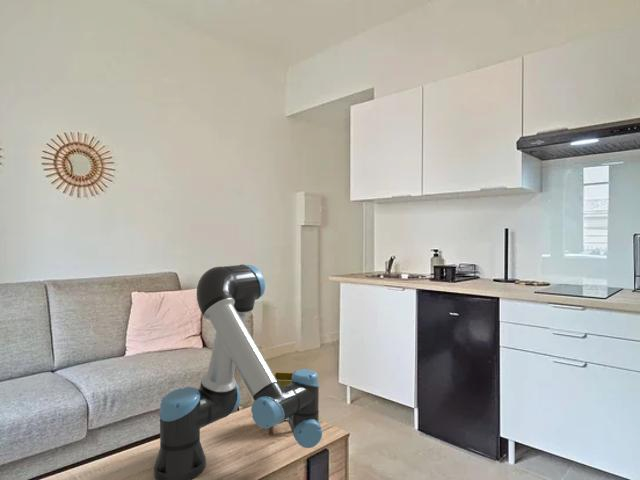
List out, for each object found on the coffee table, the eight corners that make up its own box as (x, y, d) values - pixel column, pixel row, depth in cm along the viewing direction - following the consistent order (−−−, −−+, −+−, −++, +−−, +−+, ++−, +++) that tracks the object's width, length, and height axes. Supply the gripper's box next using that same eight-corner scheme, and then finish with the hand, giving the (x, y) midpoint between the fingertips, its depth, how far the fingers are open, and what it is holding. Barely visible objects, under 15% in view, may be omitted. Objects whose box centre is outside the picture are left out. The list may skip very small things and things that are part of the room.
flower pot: (296, 395, 159) (296, 372, 159) (292, 404, 150) (292, 380, 150) (274, 394, 160) (274, 371, 160) (269, 403, 151) (269, 379, 151)
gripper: (257, 430, 121) (250, 402, 142) (336, 420, 128) (319, 394, 148) (257, 405, 121) (250, 380, 142) (336, 396, 128) (319, 374, 148)
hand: (285, 388), depth 145 cm, fingers open, 13 cm apart
